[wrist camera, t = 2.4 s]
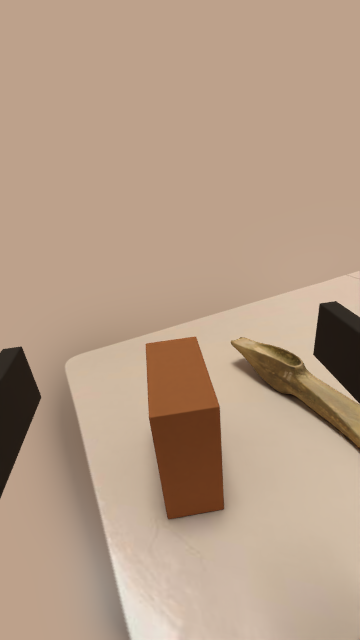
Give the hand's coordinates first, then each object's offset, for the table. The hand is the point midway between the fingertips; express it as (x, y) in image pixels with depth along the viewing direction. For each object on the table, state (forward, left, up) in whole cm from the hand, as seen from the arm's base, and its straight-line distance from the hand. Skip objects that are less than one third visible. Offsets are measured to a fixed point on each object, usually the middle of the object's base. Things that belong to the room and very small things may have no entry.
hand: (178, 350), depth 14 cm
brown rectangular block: (+8, +6, -20) cm, 22 cm away
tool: (+22, -3, -20) cm, 30 cm away
